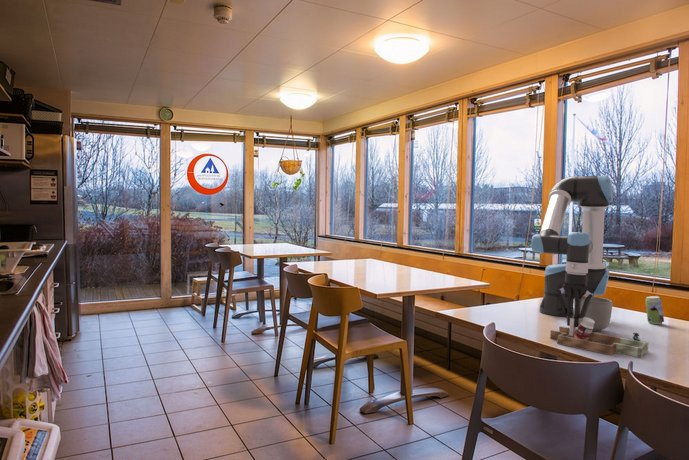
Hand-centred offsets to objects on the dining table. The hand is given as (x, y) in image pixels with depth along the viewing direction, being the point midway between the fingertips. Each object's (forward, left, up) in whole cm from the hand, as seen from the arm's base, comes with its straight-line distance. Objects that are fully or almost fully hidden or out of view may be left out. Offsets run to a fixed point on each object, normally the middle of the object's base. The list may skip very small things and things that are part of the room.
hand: (572, 335), depth 179 cm
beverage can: (+16, +56, -2) cm, 58 cm away
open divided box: (+9, -2, -2) cm, 9 cm away
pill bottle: (+3, 0, -1) cm, 3 cm away
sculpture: (+18, +15, -2) cm, 24 cm away
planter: (+1, +21, -2) cm, 21 cm away
